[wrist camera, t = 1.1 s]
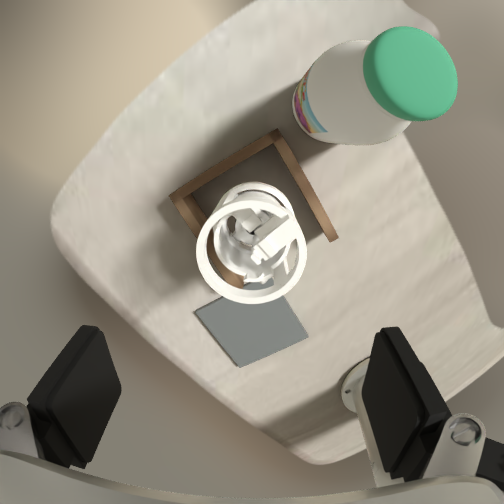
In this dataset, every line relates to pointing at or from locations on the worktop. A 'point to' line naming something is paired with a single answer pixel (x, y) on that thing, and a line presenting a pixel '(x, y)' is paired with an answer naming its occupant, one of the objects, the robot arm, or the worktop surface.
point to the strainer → (253, 243)
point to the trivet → (252, 326)
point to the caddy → (183, 195)
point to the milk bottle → (375, 88)
